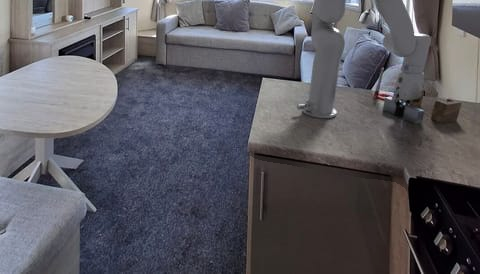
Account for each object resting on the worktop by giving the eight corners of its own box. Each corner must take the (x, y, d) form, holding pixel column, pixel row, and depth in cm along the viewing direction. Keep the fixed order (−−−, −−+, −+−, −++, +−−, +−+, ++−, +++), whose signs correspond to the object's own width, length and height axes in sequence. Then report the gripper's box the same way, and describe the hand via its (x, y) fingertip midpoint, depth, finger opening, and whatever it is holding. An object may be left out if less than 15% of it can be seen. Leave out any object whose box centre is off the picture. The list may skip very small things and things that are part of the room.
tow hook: (396, 98, 173) (375, 93, 176) (404, 69, 167) (382, 65, 171) (394, 103, 166) (372, 98, 169) (402, 74, 160) (379, 69, 164)
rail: (421, 123, 144) (424, 110, 142) (415, 124, 143) (418, 111, 141) (388, 108, 158) (390, 96, 155) (382, 109, 156) (385, 97, 154)
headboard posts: (456, 121, 148) (462, 102, 145) (441, 123, 145) (447, 104, 142) (410, 102, 166) (415, 85, 163) (397, 104, 163) (400, 87, 160)
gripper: (404, 72, 136) (392, 121, 144) (436, 69, 143) (424, 116, 150) (388, 67, 142) (378, 114, 150) (420, 64, 149) (409, 110, 156)
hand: (401, 115), depth 150 cm, fingers closed on rail, 3 cm apart
